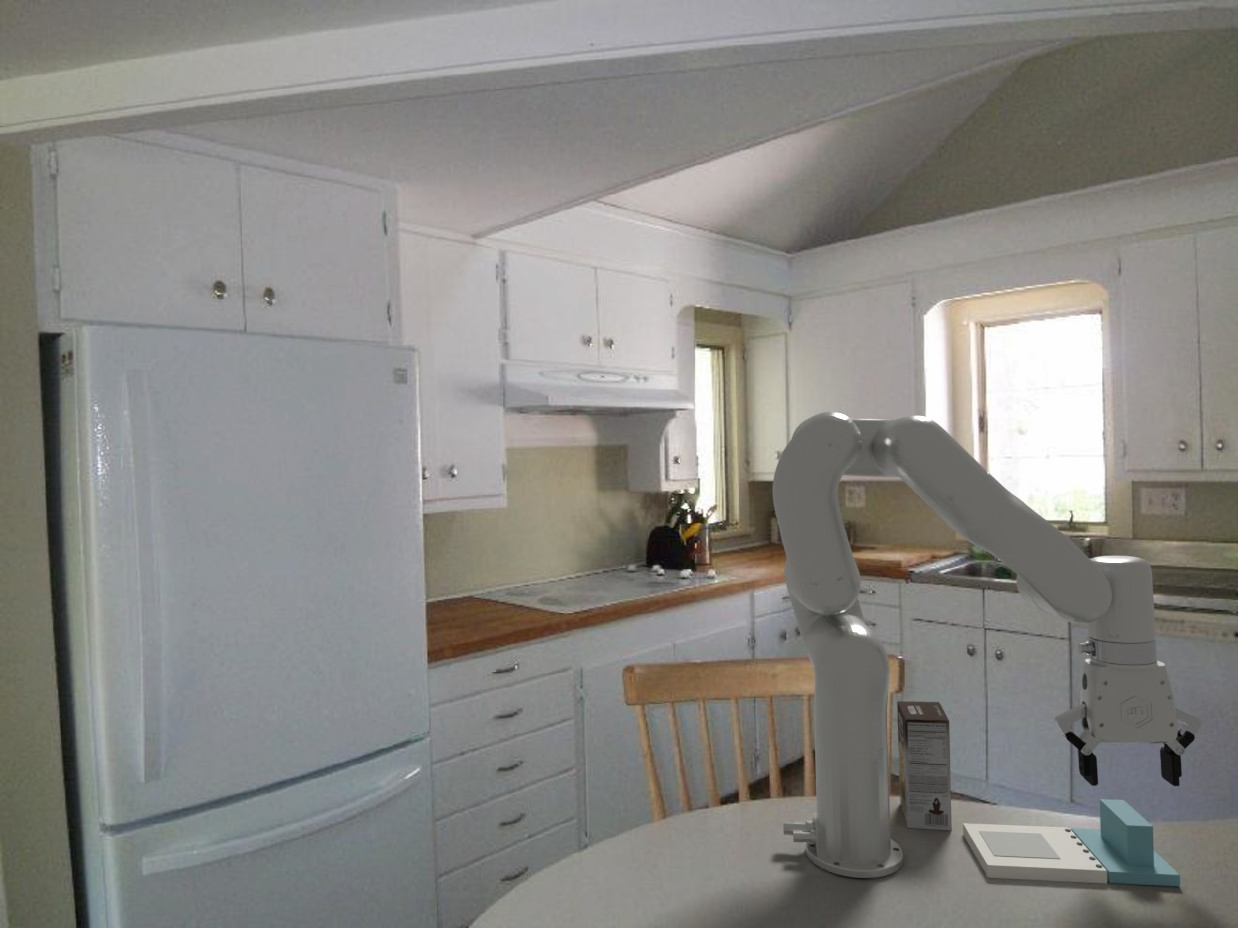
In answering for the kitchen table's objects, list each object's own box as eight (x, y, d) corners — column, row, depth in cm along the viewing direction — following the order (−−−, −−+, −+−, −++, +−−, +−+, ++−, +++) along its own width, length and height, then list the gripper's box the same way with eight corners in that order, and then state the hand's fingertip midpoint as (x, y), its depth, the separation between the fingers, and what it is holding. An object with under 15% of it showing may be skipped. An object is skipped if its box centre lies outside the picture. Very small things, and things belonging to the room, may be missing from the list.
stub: (1109, 882, 101) (1108, 831, 101) (1071, 838, 112) (1070, 792, 112) (1180, 886, 99) (1178, 834, 99) (1133, 840, 111) (1132, 794, 111)
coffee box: (898, 802, 126) (895, 699, 126) (942, 805, 125) (939, 700, 125) (907, 829, 117) (904, 717, 117) (954, 831, 116) (951, 719, 116)
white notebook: (988, 877, 103) (987, 863, 103) (963, 834, 115) (962, 822, 115) (1107, 883, 101) (1106, 869, 101) (1069, 838, 112) (1068, 826, 112)
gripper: (1062, 659, 103) (1070, 793, 103) (1211, 656, 101) (1219, 794, 101) (1041, 646, 111) (1048, 770, 111) (1179, 643, 108) (1187, 771, 108)
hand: (1130, 781), depth 106 cm, fingers open, 9 cm apart
